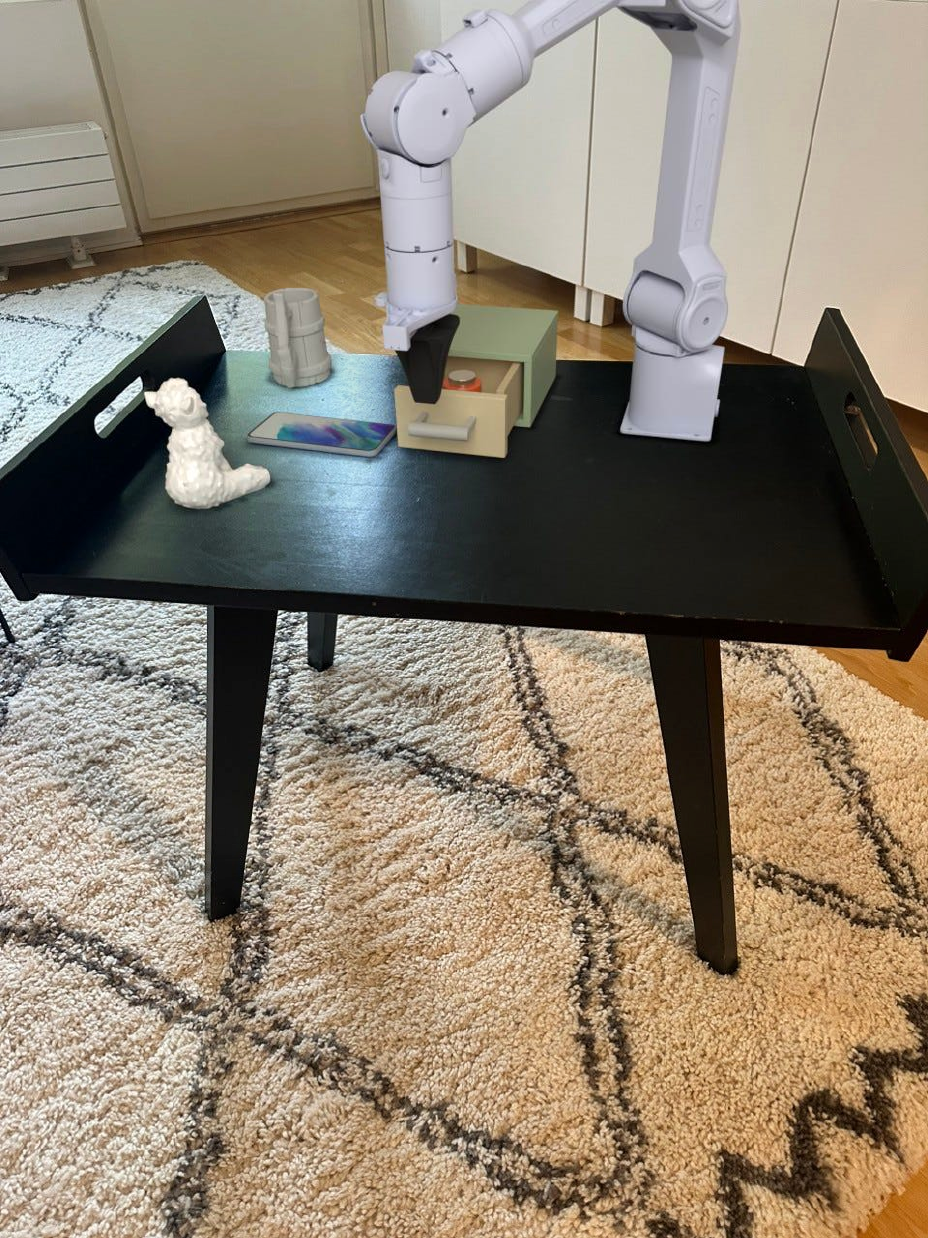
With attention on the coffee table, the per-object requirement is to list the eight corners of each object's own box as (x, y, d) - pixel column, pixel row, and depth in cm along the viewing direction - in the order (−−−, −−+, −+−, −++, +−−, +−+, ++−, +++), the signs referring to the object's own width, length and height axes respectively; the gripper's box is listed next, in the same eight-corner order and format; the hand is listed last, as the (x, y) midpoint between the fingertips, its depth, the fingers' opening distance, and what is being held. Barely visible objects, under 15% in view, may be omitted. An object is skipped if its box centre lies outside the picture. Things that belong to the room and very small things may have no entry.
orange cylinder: (486, 416, 96) (485, 369, 93) (476, 431, 93) (475, 384, 90) (450, 412, 97) (448, 366, 94) (439, 428, 94) (437, 380, 91)
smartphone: (273, 410, 101) (398, 424, 97) (274, 417, 101) (399, 431, 98) (243, 436, 95) (374, 452, 92) (244, 444, 96) (374, 459, 92)
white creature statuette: (275, 483, 89) (256, 367, 82) (222, 525, 83) (196, 403, 76) (199, 466, 92) (173, 353, 85) (142, 505, 86) (109, 386, 79)
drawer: (494, 477, 87) (494, 417, 83) (384, 465, 90) (379, 406, 86) (532, 404, 101) (534, 349, 97) (436, 395, 103) (433, 341, 99)
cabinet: (530, 427, 98) (531, 355, 93) (420, 416, 101) (416, 346, 96) (555, 376, 109) (558, 310, 104) (456, 368, 112) (454, 303, 107)
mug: (337, 363, 114) (326, 266, 107) (322, 401, 105) (309, 297, 97) (277, 364, 114) (263, 267, 107) (257, 402, 105) (240, 298, 98)
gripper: (401, 219, 80) (410, 367, 88) (340, 265, 68) (357, 429, 77) (477, 222, 78) (479, 373, 86) (428, 271, 67) (435, 437, 75)
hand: (426, 400), depth 81 cm, fingers closed
